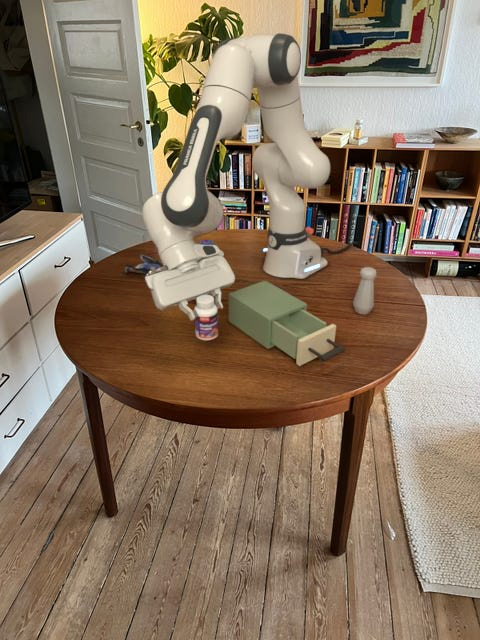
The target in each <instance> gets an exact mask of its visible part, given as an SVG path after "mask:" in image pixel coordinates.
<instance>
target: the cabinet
mask: <svg viewBox="0 0 480 640" xmlns="http://www.w3.org/2000/svg"><path fill="white" fill-rule="evenodd" d="M227 297H228V299H227V300H228V301H227V303H228V322H229V323H231V324H232V325H233V326H235V327H236V328H238V329H239V330H240V331H242V332H243V333H245V334H246V335H247V336H249V337H250V338H251V339H253V340H254V341H255V342H257V343H258V344H260V345H261V346H262V347H264V348H266V349H267V350H269V349H271V348H273V347H276V346H275V345H274V344H272V343H271V342H270V341H271V321H274V320H276V319H278V318H281V317H283V316H286V315H288V314H290V313H293V312H295V311H298V310H300V309H303V310H305V311H307V312H308V303H306V302H305V301H302V300H301V299H299V298H297V297H296V296H293V295H292V294H290V293H288V292H287V291H285V290H283V289H281V288H279V287H277V286H276V285H274V284H272V283H271V282H269V281H267V280H262V281H260V282H257V283H254V284H251V285H248V286H246V287H243V288H240V289H237V290H234V291H231V292H228V295H227Z"/></svg>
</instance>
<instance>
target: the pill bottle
mask: <svg viewBox="0 0 480 640" xmlns="http://www.w3.org/2000/svg"><path fill="white" fill-rule="evenodd" d="M195 301H196V305H195V306H194V309H193V311H194V310H196V311H197V314H198V316H199V317H198V318H197V319H195V320H194V330H195V331H194V332H195V336H196V338H197V339H199V340H201V341H211V340H214V339H217V337H218V336H219V311H218V309H217V306H216V305H215V304H214V303H215V297H213V296H212V294H207V295H201V296H198V297H197V299H196V300H195Z"/></svg>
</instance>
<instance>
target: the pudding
mask: <svg viewBox="0 0 480 640" xmlns="http://www.w3.org/2000/svg"><path fill="white" fill-rule="evenodd" d="M197 244H201V245H216V242H214V240H210V239H203V240H200V241H199V242H198V243H197ZM219 250H220V253H219V254H218V255H220V256H222V257H224V256H225V252H224V251H223V250H221V249H219Z"/></svg>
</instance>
